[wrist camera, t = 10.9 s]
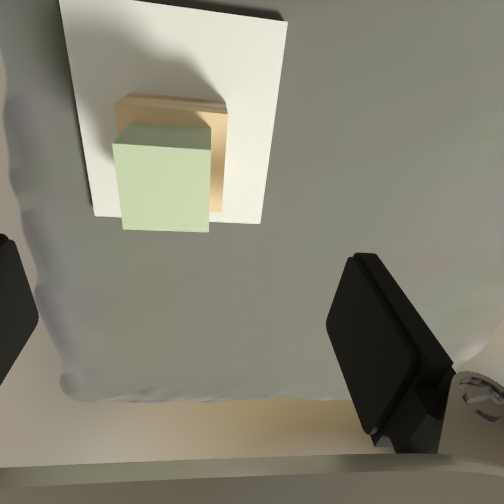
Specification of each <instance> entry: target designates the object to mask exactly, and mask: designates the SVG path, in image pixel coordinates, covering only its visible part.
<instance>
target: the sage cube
mask: <svg viewBox="0 0 504 504" xmlns="http://www.w3.org/2000/svg"><path fill="white" fill-rule="evenodd" d="M112 147H113V155H114V163H115V170H116V178H117V186H118V193H119V201H120V208H121V216H122V224H123V229H129V230H158V231H186V232H209V203H210V169H211V128H203V127H190V126H178V125H165V124H152V123H139V122H132V123H131V124H130V125H129V126H128V127H127V128H126V129H125V130H124V131H123V132H122V133H121V134H120V135H119V136H118V137H117V139H116V140H115V141H114V142H113V143H112Z"/></svg>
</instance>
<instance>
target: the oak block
mask: <svg viewBox="0 0 504 504" xmlns="http://www.w3.org/2000/svg"><path fill="white" fill-rule="evenodd" d="M114 106H115V116H116V125H117V134H118V136H119V135H120V134H121V133H122V132H123V131H124V130H125V129H126V128H127V127H128V126H129V125H130V124H131V123H132V122H139V123H152V124H165V125H178V126H190V127H203V128H211V169H210V203H209V211H210V212H222V200H223V184H224V169H225V154H226V138H227V123H228V111H227V106H226V101H216V100H206V99H197V98H187V97H177V96H167V95H157V94H147V93H138V92H130V93H129V94H127V95H126V96H124V97H123V98H121V99H120V100H118V101H117V102H115V103H114Z"/></svg>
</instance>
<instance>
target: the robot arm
mask: <svg viewBox="0 0 504 504" xmlns="http://www.w3.org/2000/svg"><path fill="white" fill-rule="evenodd" d="M38 318H39V315H38V310H37V307H36V304H35V301H34V298H33V295H32V292H31V289H30V286H29V283H28V280H27V277H26V274H25V271H24V268H23V265H22V262H21V259H20V256H19V253H18V250H17V247H16V244H15V242H14V241H13V240H9V239H8V237H7V236H6V235H4V234H0V385H1V384H2V382H3V380H4V379H5V377H6V375H7V374H8V372H9V370H10V369H11V367H12V365H13V364H14V362H15V360H16V359H17V357H18V355H19V354H20V352H21V350H22V349H23V347H24V346H25V344H26V342H27V341H28V339H29V337H30V336H31V334H32V332H33V331H34V329H35V327H36V325H37V323H38ZM326 329H327V332H328V335H329V338H330V341H331V343H332V346H333V349H334V351H335V354H336V357H337V360H338V362H339V365H340V368H341V371H342V373H343V376H344V379H345V382H346V384H347V387H348V390H349V392H350V395H351V398H352V401H353V403H354V406H355V409H356V411H357V414H358V417H359V419H360V422H361V425H362V428H363V430H364V432H365V433H366V434H370V436H371V438H372V441H373V444H374V446H375V447H386V446H387V447H389V446H393V447H394V450H395V452H396V454H348V455H347V454H346V455H316V456H289V457H259V458H232V459H231V458H229V459H203V460H177V461H153V462H152V461H151V462H126V463H103V464H78V465H55V466H32V467H9V468H0V504H504V387H502V386H501V385H500V384H498V383H497V382H495V381H493V380H492V379H490V378H489V377H486V376H484V375H481V374H479V373H475V372H470V371H464V372H459V373H457V374H456V372H455V371H454V369H453V368H452V365H453V361H452V360H451V359H450V357H449V356H448V354H447V353H446V351H445V350H444V349H443V347H442V346H441V344H440V343H439V342H438V340H437V339H436V337H435V336H434V335H433V333H432V332H431V330H430V329H429V328H428V326H427V325H426V323H425V322H424V320H423V319H422V318H421V316H420V315H419V313H418V312H417V311H416V309H415V308H414V306H413V305H412V304H411V302H410V301H409V299H408V298H407V297H406V295H405V294H404V292H403V291H402V290H401V288H400V287H399V285H398V284H397V282H396V281H395V280H394V278H393V277H392V275H391V274H390V273H389V271H388V270H387V268H386V267H385V266H384V264H383V263H382V261H381V260H380V259H379V257H378V256H377V255H376V254H374V253H355V254H354V255H353V257H349V258H348V260H347V262H346V265H345V268H344V271H343V273H342V276H341V279H340V282H339V285H338V288H337V291H336V294H335V297H334V300H333V302H332V305H331V308H330V311H329V314H328V317H327V320H326Z"/></svg>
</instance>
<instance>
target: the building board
mask: <svg viewBox="0 0 504 504" xmlns="http://www.w3.org/2000/svg"><path fill="white" fill-rule="evenodd" d="M59 3H60V9H61V15H62V21H63V27H64V33H65V39H66V45H67V51H68V57H69V63H70V69H71V75H72V81H73V87H74V93H75V99H76V105H77V111H78V117H79V123H80V129H81V135H82V141H83V147H84V153H85V159H86V165H87V171H88V177H89V183H90V189H91V195H92V201H93V207H94V213H95V216H107V217H122V216H121V208H120V201H119V193H118V186H117V178H116V170H115V163H114V155H113V147H112V143H113V142H114V141H115V140H116V139H117V137H118V134H117V125H116V116H115V106H114V103H115V102H117V101H118V100H120V99H121V98H123V97H124V96H126V95H127V94H129V93H130V92H138V93H147V94H157V95H167V96H177V97H187V98H197V99H206V100H216V101H226V106H227V111H228V123H227V138H226V154H225V169H224V184H223V200H222V212H210V211H209V222H230V223H250V224H260V220H261V213H262V206H263V198H264V191H265V184H266V177H267V169H268V162H269V155H270V147H271V140H272V133H273V126H274V118H275V111H276V104H277V97H278V89H279V82H280V75H281V67H282V60H283V53H284V46H285V38H286V31H287V24H288V22H284V21H277V20H270V19H263V18H256V17H248V16H241V15H234V14H227V13H220V12H213V11H206V10H199V9H191V8H184V7H177V6H170V5H163V4H156V3H149V2H141V1H134V0H59Z"/></svg>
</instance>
